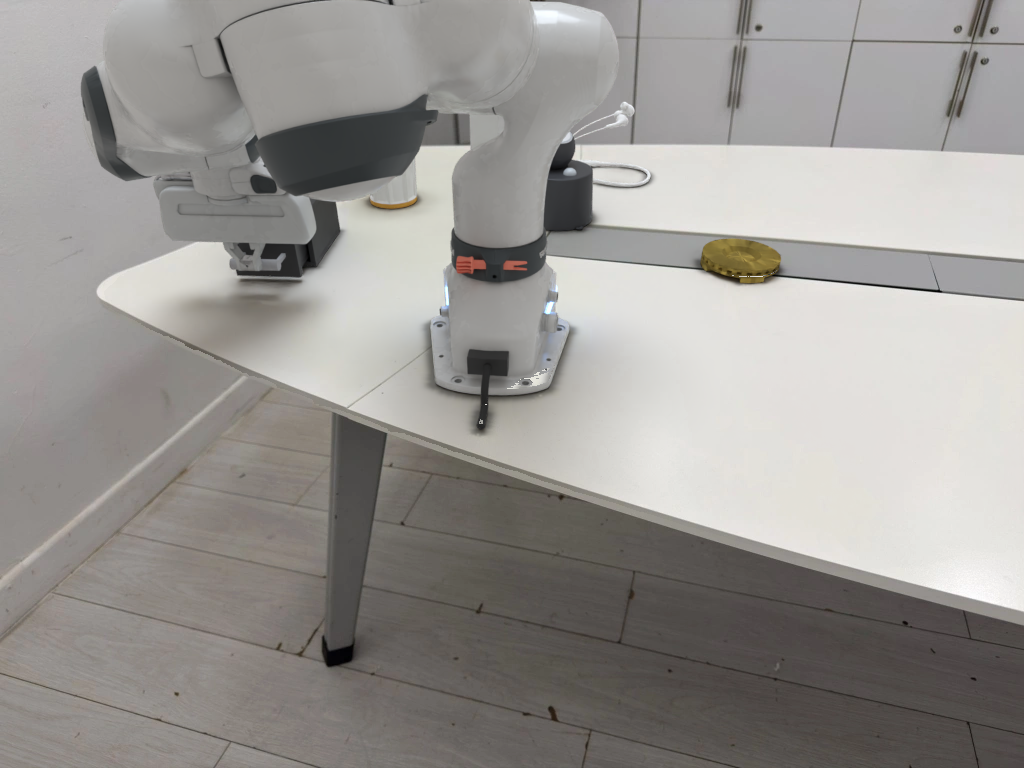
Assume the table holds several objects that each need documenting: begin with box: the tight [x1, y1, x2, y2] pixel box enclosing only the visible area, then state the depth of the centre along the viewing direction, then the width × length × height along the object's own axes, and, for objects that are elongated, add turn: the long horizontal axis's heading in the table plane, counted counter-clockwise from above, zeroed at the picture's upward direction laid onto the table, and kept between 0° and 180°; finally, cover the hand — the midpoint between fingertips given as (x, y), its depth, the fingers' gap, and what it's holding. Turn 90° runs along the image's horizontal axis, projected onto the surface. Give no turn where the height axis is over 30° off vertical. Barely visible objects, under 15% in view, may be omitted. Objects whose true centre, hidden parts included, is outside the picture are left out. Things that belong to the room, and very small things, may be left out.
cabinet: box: [302, 198, 341, 268], centre depth 111 cm, size 15×11×9 cm
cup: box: [369, 157, 418, 210], centre depth 126 cm, size 11×11×17 cm
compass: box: [700, 237, 782, 284], centre depth 107 cm, size 12×12×2 cm
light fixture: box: [543, 130, 594, 232], centre depth 120 cm, size 13×16×14 cm
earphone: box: [572, 101, 652, 188], centre depth 142 cm, size 14×17×18 cm
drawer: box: [228, 243, 310, 278], centre depth 104 cm, size 18×10×7 cm, turn 177°
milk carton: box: [468, 114, 504, 150], centre depth 135 cm, size 7×7×19 cm
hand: (250, 269), depth 96 cm, fingers closed, pressing on drawer
